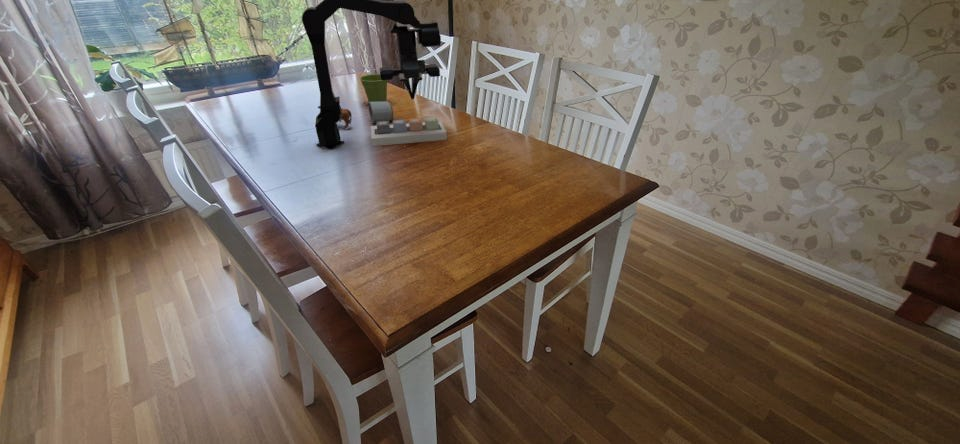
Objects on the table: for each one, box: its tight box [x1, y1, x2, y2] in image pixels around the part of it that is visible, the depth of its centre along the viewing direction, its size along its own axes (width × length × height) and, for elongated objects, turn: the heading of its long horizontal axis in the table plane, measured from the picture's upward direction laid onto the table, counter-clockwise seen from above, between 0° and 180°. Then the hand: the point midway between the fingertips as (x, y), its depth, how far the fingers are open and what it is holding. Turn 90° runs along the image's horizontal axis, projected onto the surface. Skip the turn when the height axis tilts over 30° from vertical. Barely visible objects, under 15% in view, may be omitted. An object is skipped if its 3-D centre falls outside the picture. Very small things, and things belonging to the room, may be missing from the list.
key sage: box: [423, 116, 439, 130], centre depth 131 cm, size 4×4×3 cm
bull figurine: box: [317, 105, 353, 131], centre depth 137 cm, size 4×13×8 cm, turn 71°
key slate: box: [392, 119, 407, 133], centre depth 129 cm, size 4×4×3 cm
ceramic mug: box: [368, 101, 394, 124], centre depth 144 cm, size 11×8×8 cm
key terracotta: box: [408, 118, 423, 132], centre depth 130 cm, size 4×4×3 cm
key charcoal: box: [375, 121, 391, 134], centre depth 128 cm, size 4×4×3 cm
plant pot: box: [359, 73, 388, 103], centre depth 159 cm, size 12×12×11 cm
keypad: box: [370, 120, 448, 147], centre depth 131 cm, size 25×12×3 cm, turn 105°
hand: (412, 98), depth 125 cm, fingers closed
